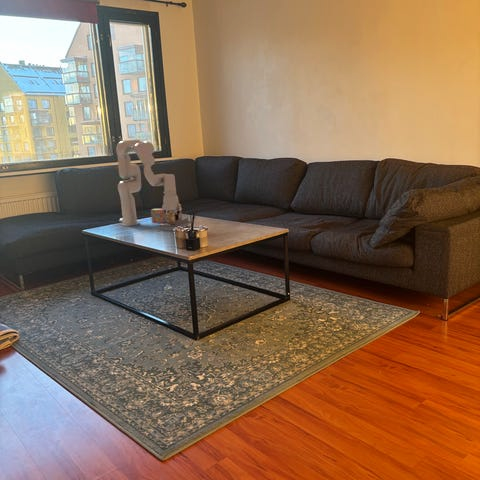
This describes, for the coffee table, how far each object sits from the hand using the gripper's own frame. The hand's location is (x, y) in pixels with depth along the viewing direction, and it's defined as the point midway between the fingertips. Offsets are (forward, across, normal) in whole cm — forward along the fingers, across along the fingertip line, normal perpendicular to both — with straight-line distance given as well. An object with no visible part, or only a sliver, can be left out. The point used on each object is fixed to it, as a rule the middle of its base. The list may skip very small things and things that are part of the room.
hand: (172, 219), depth 327 cm
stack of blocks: (+6, -18, +21) cm, 28 cm away
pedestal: (+2, 0, 0) cm, 2 cm away
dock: (+6, 0, 0) cm, 6 cm away
